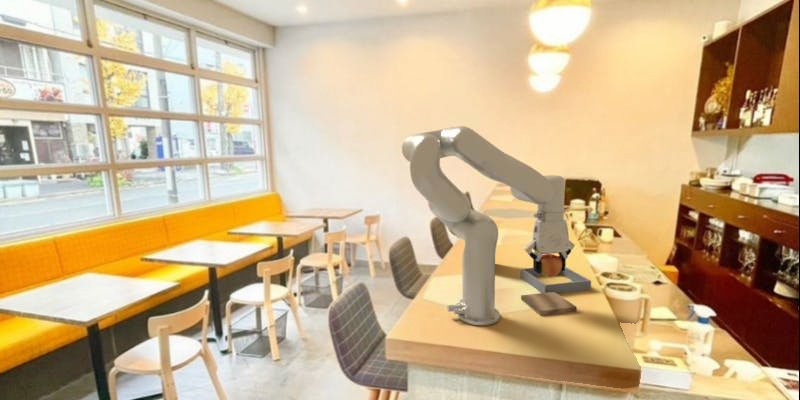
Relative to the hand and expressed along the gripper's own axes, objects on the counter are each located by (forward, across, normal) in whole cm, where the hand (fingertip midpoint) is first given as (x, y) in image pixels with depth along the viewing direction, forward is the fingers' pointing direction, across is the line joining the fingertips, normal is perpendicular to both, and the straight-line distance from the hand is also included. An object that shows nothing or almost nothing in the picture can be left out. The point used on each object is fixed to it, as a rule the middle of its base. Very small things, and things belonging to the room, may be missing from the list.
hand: (549, 270), depth 119 cm
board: (+12, 0, 0) cm, 12 cm away
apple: (+2, 0, 0) cm, 2 cm away
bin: (+12, +12, +16) cm, 23 cm away
